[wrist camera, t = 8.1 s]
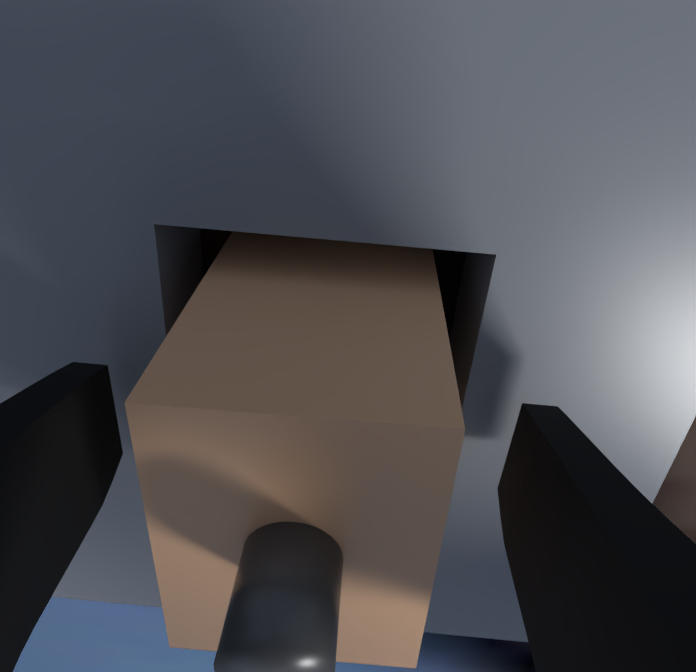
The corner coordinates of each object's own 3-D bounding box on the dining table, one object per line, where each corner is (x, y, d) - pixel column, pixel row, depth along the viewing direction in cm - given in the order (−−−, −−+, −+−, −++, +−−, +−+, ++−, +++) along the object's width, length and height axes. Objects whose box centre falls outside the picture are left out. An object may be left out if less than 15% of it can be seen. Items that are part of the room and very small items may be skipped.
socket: (780, 2, 9) (897, 7, 7) (556, 562, 17) (580, 647, 14) (-74, -69, 9) (-208, -86, 7) (74, 517, 17) (28, 594, 15)
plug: (430, 238, 12) (485, 542, 5) (404, 426, 14) (420, 786, 8) (237, 224, 12) (58, 506, 5) (245, 413, 14) (132, 760, 8)
